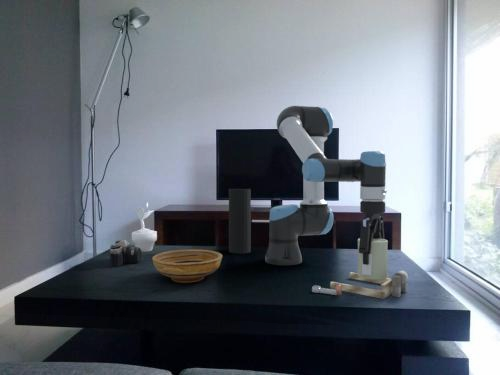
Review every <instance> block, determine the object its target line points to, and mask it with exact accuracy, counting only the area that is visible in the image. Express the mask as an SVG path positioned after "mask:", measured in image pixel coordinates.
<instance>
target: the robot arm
mask: <svg viewBox="0 0 500 375" xmlns="http://www.w3.org/2000/svg"><path fill="white" fill-rule="evenodd" d="M333 127H334V119H333V115H332V113H331V111H330V110H329V109H328V108H326V107H321V106H308V105H307V106H306V105H305V106H304V105H302V106H301V105H291V106H288V107H286V108H284V109H283V110H282V111H281V112H280V113H279V114H278V116H277V119H276V129H277V131H278V133H279V135H280V136H281V137H282V138H284V139H286V140H287V142H288V144H290V146H291V147H292V149H293V150H294V152H295V154H296V155H297V156H298V158H299V160H300V161H301V162H302V167H301V173H302V176H303V177H302V178H303V181H302V182H303V199H302V201H300V203H299V206H298V205H297V204H283V205H275V206H274V207H271V208H270V211H269V218H268V220H269V221H268V222H269V244H268V247H267V249H266V253H265V256H264V258H265V259H264V262H265V263H267V264H269V265H275V266H296V265H300V264H302V262H303V257H302V253H301V250H300V247H299V242H298V239H299V238H298V237H299V236H302V237H303V236H320V235H327V233H329V232H330V231H331V230H332V227H333V224H334V213H333V209H331V207H330V206H328V201H326V200H325V189H324V188H325V182H331V183H332V182H337V183H338V182H342V183H343V182H345V183H346V182H347V183H354V182H360V185H359V199H360V200H361V201H360V202H359V206H360V207H359V208H360V213H362V214H365V217H364V219H360V236H359V238H360V244H359V253H362V274H364V275H370V276H371V275H372V254H370V252H371V242H372V240H373V238H374V239H378V238H379V239H385V227H384V221H385V217H384V216H381V214H384V213H386V202H385V201H384V200H386V194H387V192H388V191H387V189H386V171H387V170H386V169H387V168H386V167H387V164H386V154H385V152H384V151H379V150H375V151H374V150H372V151H371V150H370V151H369V150H367V151H363V152H361V153H360V157H359V159H356V158H355V159H347V158H346V159H342V158H340V159H339V158H338V159H336V158H327V157H326V156H325V153H324V152H325V142H326V141H327V140H328V136H329V135H331V133H332V132H333Z"/></svg>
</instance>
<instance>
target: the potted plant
mask: <svg viewBox="0 0 500 375" xmlns="http://www.w3.org/2000/svg"><path fill="white" fill-rule="evenodd" d="M145 206H146V208H147V209H148V207H149V202H148V201H146V204H145ZM153 212H155V209H154V210H149V209H148V211H146V212H145V209H144V208H143V207H142V206H140V205H139V206H137V207H136V210H135V214H136V215H137V217H138V220H139V221H140V226H141V228H140V229H138V230H136V231H132V232H131V242H132V243H133V244H134V247H138V248H140V249H141V253H142V252H150V251H153V248H154V245H155V242H156V241H157V240H158V234H157V233H158V231H156V230H151V229H150V228H146V227H145V221H144V220H145V219H147V218H148V217H149V216H150V215H151V214H152V213H153Z"/></svg>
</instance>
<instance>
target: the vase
mask: <svg viewBox="0 0 500 375" xmlns="http://www.w3.org/2000/svg"><path fill="white" fill-rule="evenodd" d="M251 189H252V188H229V189H228V252H229V253H231V254H237V255H238V254H240V255H241V254H243V255H244V254H249V253H251V252H252V250H251V249H252V248H251V247H252V246H251V244H252V240H251V239H252V238H251V237H252V236H251V232H252V230H251V229H252V228H251V226H252V224H251V223H252V220H251V219H252V218H251V217H252V214H251V213H252V211H251V209H252V208H251V207H252V206H251V204H252V200H251V199H252V198H251V196H252V193H251V192H252V191H251Z"/></svg>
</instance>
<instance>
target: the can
mask: <svg viewBox="0 0 500 375" xmlns="http://www.w3.org/2000/svg"><path fill="white" fill-rule="evenodd" d="M359 244H360V237H359V238H358V239H357V273H358V274H357V275H358V276H359V277H361V278H364V279H371V280H383V279H387V278H389V275H388V274H389V273H388V246H389V245H388V244H389V241H388V240H387V239H385V238H384V239H379V238H378V239H374V238H373V240H372V242H371V252H370V254H372V275H371V276H370V275H364V274H362V253H359Z"/></svg>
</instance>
